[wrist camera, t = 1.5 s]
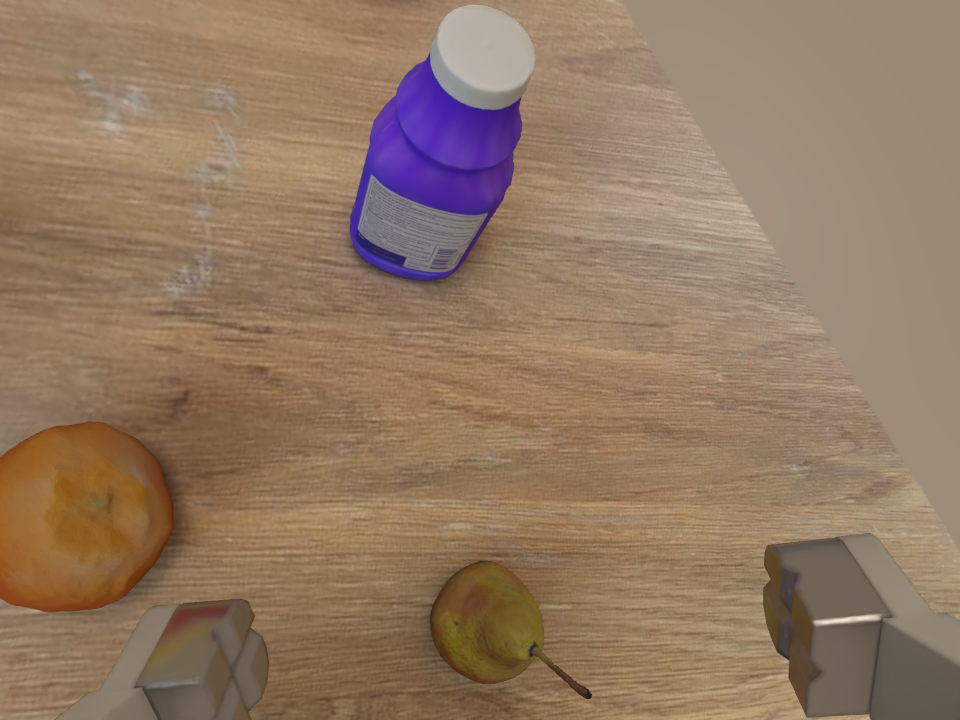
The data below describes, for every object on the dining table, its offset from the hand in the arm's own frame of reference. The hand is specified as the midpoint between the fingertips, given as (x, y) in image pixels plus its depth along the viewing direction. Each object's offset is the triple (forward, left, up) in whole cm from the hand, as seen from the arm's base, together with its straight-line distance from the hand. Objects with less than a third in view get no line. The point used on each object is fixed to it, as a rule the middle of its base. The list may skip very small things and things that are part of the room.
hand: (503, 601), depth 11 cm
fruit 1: (-6, +11, -28) cm, 31 cm away
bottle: (+17, +12, -28) cm, 35 cm away
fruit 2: (+4, -6, -28) cm, 29 cm away
